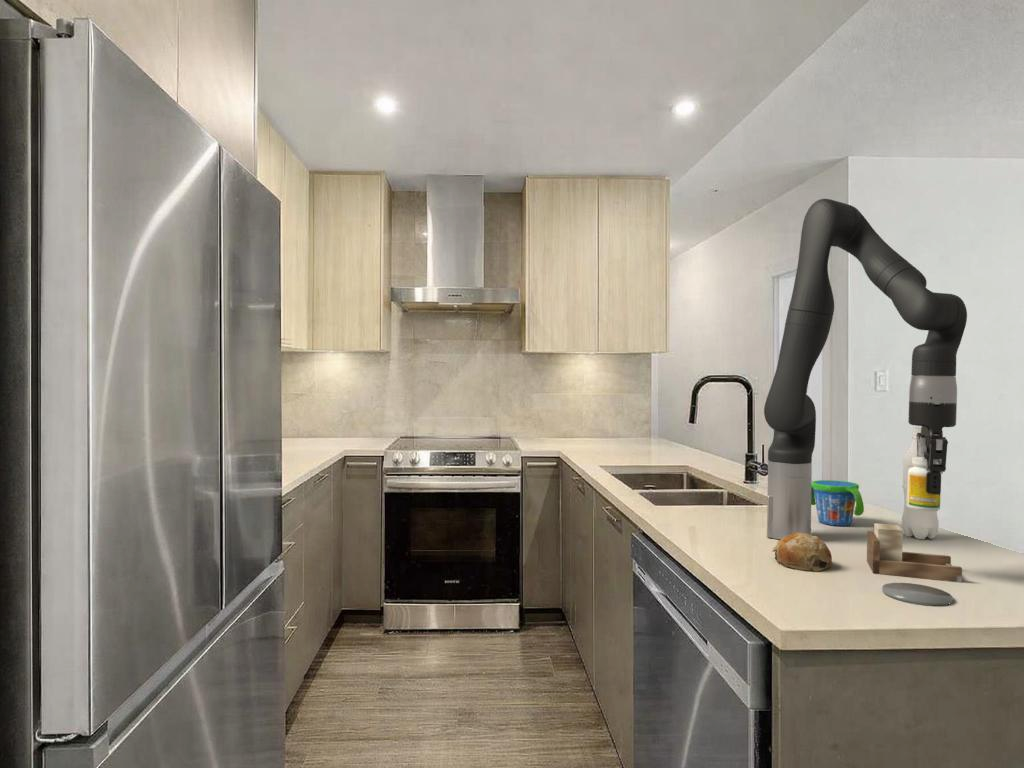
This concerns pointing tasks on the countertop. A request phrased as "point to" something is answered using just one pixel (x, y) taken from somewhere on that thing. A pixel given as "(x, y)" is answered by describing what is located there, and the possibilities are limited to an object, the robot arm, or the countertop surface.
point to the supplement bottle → (920, 488)
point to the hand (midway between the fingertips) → (929, 490)
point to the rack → (905, 557)
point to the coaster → (916, 594)
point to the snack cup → (836, 501)
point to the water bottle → (912, 519)
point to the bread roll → (803, 552)
